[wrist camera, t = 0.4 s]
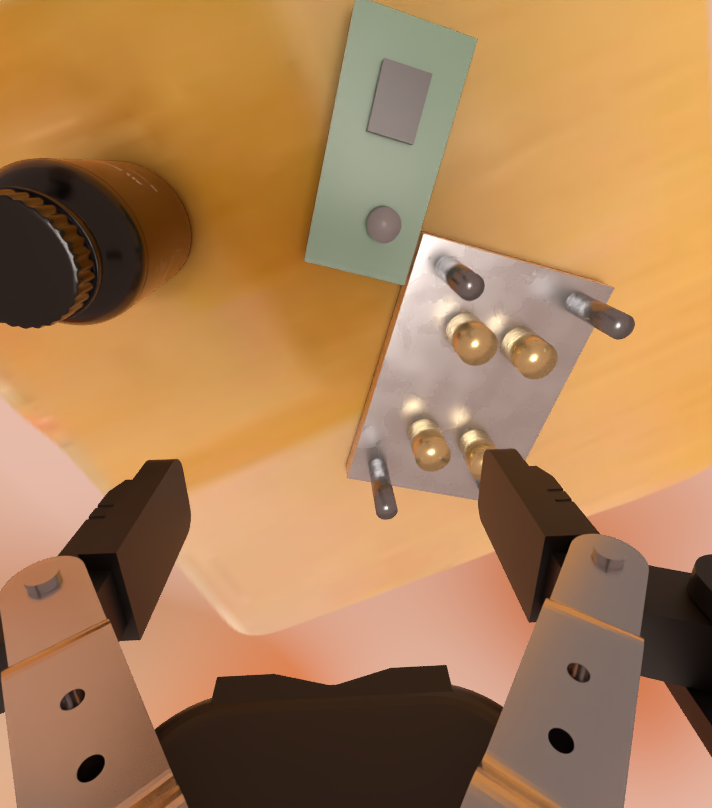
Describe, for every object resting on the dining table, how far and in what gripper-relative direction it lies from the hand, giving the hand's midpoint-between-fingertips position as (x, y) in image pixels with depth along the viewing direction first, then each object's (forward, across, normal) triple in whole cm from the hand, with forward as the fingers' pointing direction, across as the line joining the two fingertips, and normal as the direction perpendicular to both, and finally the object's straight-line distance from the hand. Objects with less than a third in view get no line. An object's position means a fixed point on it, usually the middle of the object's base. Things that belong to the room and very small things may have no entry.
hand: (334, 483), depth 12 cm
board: (+19, -3, -9) cm, 22 cm away
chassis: (+20, -9, +5) cm, 23 cm away
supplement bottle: (+19, +12, -6) cm, 23 cm away
